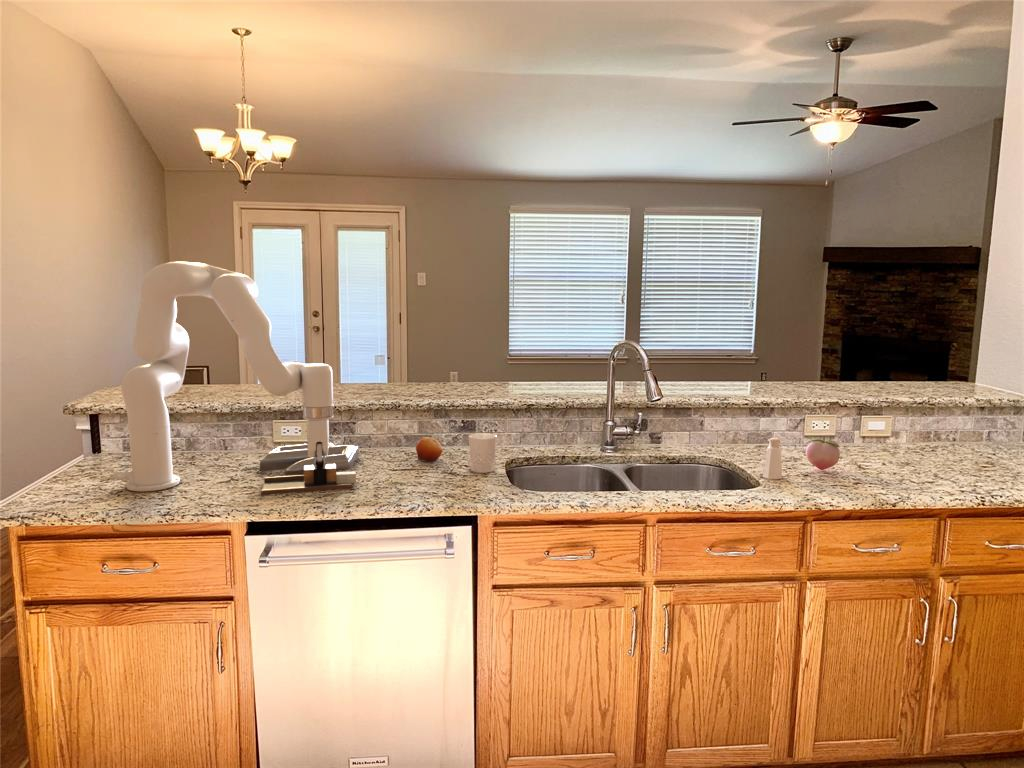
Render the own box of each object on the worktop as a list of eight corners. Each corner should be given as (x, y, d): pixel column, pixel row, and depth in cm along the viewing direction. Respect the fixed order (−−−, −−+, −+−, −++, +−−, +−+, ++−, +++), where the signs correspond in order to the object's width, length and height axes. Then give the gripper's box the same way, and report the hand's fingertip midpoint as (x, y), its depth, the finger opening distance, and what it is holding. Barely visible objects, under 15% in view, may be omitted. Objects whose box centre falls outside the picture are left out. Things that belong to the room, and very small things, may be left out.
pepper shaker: (758, 476, 197) (761, 438, 195) (767, 473, 201) (769, 435, 199) (777, 480, 193) (780, 442, 192) (785, 477, 197) (788, 438, 196)
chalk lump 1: (336, 484, 182) (336, 474, 181) (336, 481, 184) (335, 472, 184) (346, 483, 182) (346, 474, 182) (345, 480, 185) (345, 471, 184)
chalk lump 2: (346, 483, 182) (346, 474, 182) (345, 480, 185) (345, 471, 184) (356, 482, 183) (355, 473, 183) (355, 480, 185) (355, 471, 185)
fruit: (412, 451, 215) (425, 430, 213) (434, 465, 215) (447, 443, 214) (407, 458, 207) (421, 436, 206) (430, 472, 207) (444, 450, 206)
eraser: (304, 487, 179) (303, 470, 178) (304, 482, 183) (304, 465, 182) (336, 485, 181) (336, 468, 180) (336, 480, 185) (335, 463, 184)
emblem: (308, 466, 183) (238, 451, 197) (309, 486, 184) (239, 470, 198) (380, 445, 207) (313, 433, 221) (381, 462, 207) (314, 450, 221)
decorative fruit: (842, 469, 206) (844, 436, 204) (835, 475, 199) (838, 441, 198) (808, 464, 211) (811, 431, 210) (801, 469, 205) (803, 436, 203)
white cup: (478, 475, 196) (478, 440, 194) (463, 468, 202) (463, 435, 200) (501, 470, 200) (501, 436, 199) (486, 464, 206) (486, 431, 205)
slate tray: (261, 499, 173) (261, 490, 172) (264, 485, 184) (264, 477, 184) (352, 492, 179) (352, 484, 178) (350, 479, 190) (350, 471, 190)
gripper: (303, 406, 186) (305, 473, 189) (302, 419, 170) (304, 491, 173) (332, 405, 188) (334, 471, 191) (334, 418, 172) (336, 489, 175)
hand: (320, 480), depth 182 cm, fingers closed on eraser, 4 cm apart
